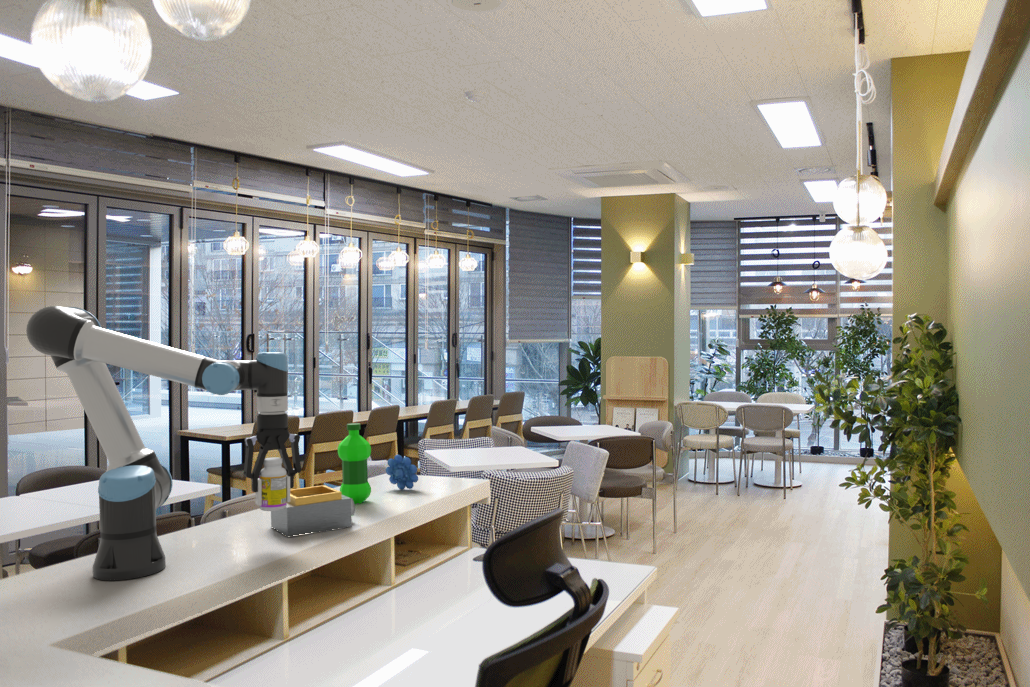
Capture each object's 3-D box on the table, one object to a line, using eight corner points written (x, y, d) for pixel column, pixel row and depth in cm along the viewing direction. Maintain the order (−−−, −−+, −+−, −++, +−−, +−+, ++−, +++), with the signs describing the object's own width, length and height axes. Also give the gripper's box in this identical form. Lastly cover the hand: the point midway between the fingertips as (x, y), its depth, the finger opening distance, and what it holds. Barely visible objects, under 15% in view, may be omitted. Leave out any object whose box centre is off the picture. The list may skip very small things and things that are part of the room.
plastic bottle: (357, 506, 246) (355, 426, 246) (332, 503, 252) (330, 425, 251) (378, 500, 255) (376, 422, 254) (354, 497, 260) (352, 421, 260)
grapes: (381, 491, 269) (380, 456, 269) (388, 487, 276) (387, 453, 275) (414, 492, 267) (413, 456, 266) (420, 488, 273) (419, 453, 273)
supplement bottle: (256, 508, 203) (256, 458, 203) (282, 505, 207) (282, 455, 207) (263, 512, 198) (263, 461, 198) (289, 509, 201) (289, 459, 201)
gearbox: (287, 537, 210) (286, 500, 210) (271, 527, 222) (270, 492, 222) (361, 525, 222) (360, 489, 222) (342, 516, 234) (341, 482, 234)
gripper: (237, 416, 193) (237, 510, 194) (314, 411, 204) (315, 500, 205) (229, 413, 200) (229, 505, 200) (304, 409, 211) (305, 496, 211)
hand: (272, 502), depth 202 cm, fingers closed on supplement bottle, 7 cm apart
